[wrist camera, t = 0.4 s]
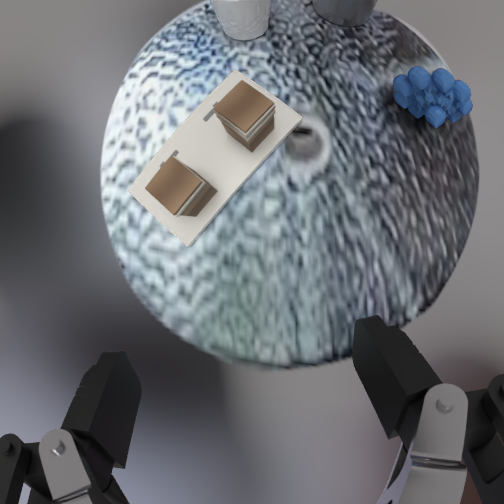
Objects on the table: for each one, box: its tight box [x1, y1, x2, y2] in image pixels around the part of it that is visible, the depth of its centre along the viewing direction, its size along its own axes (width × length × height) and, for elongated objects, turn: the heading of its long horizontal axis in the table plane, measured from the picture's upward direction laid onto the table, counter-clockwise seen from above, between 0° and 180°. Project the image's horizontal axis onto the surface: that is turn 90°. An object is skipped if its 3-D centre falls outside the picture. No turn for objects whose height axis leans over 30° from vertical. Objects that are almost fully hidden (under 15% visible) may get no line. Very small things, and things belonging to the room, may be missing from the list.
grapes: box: [393, 66, 473, 128], centre depth 26 cm, size 12×7×12 cm, turn 83°
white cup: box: [210, 0, 271, 41], centre depth 27 cm, size 8×8×10 cm
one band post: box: [145, 156, 218, 217], centre depth 30 cm, size 4×4×8 cm
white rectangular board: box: [128, 70, 303, 247], centre depth 34 cm, size 11×21×2 cm, turn 139°
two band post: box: [213, 80, 276, 152], centre depth 28 cm, size 4×4×8 cm
